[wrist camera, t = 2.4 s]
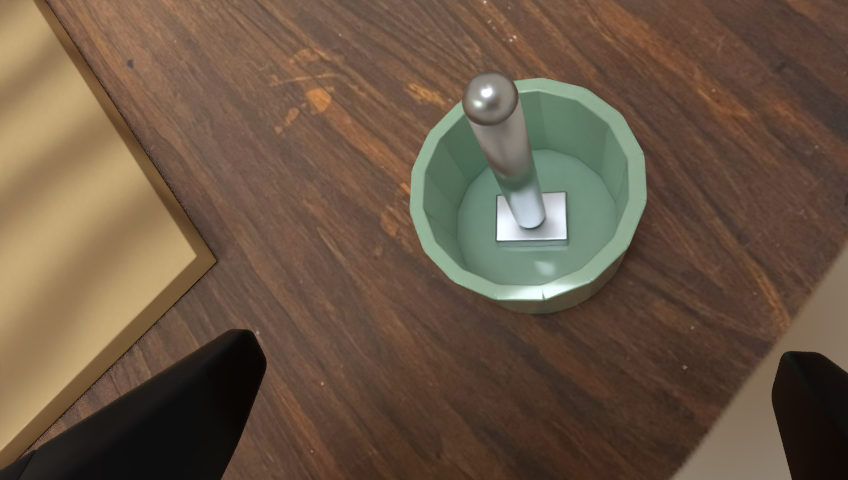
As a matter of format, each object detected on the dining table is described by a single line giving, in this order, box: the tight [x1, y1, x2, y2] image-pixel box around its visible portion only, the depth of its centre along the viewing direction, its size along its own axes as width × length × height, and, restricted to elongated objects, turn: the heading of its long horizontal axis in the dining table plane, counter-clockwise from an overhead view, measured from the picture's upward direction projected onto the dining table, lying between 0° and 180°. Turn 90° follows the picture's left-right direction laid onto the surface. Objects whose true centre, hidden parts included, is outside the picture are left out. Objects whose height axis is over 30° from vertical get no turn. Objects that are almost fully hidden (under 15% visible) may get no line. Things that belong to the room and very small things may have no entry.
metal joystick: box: [462, 70, 569, 247], centre depth 15 cm, size 3×2×11 cm
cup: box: [410, 78, 647, 314], centre depth 18 cm, size 7×7×6 cm
